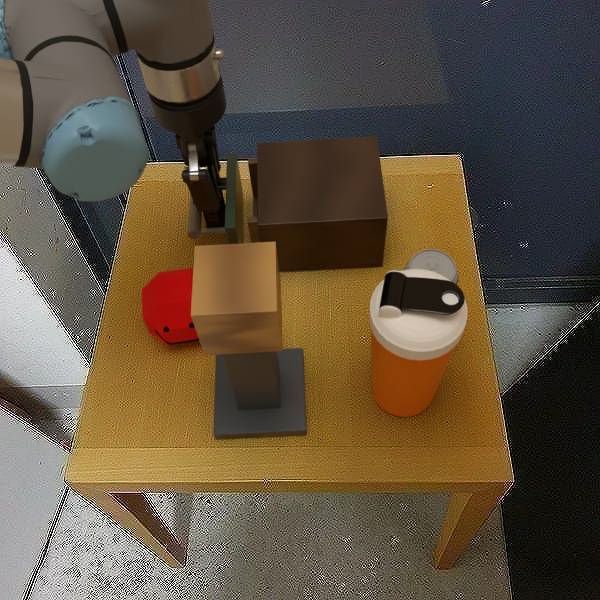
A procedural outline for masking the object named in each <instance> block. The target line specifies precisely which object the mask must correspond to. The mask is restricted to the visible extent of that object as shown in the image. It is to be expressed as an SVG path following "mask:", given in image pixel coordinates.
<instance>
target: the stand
mask: <svg viewBox="0 0 600 600" xmlns="http://www.w3.org/2000/svg"><path fill="white" fill-rule="evenodd" d="M304 359H305V358H304V348H303V347H296V348H295V347H294V348H293V347H292V348H283V351H277V352H257V353H238V354H218V355H215V372H214V373H215V374H214V400H213V401H214V403H213V437H214V439H215V440H235V439H255V438H273V437H274V438H275V437H277V438H278V437H291V436H292V437H297V436H307V408H306V388H305V387H306V386H305V383H306V382H305V364H304V363H305V362H304Z"/></svg>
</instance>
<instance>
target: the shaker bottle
mask: <svg viewBox="0 0 600 600" xmlns="http://www.w3.org/2000/svg"><path fill="white" fill-rule="evenodd" d="M465 297H466V296H465V294H464V291H463V289H461V287H460V286H459V285H458V284H457V285H456V284H455V283H454V282H451V281H450V280H449V279H447V278H446V277H444V276H443V275H440V274H438V273H436V272H433V271H429V270H425V269H408V270H404V269H402V270H398V269H396V270H395V269H394V270H389V271H387V272H386V273H385V275H384V279H382V280H381V282H380V283H379V284H378V285H377V286H376V288H375V289H374V291H373V292H372V295H371V298H370V301H369V309H368V323H369V328H370V334H371V335H370V387H371V388H370V389H371V395H372V397H373V399H374V401H375V403H376V404H377V405H378V406H379V407H380V409H382V410H383V411H384V412H386V413H387V414H390V415H391V416H396V417H399V418H400V417H402V418H410V417H413V416H417V415H419V414H421V413H424V411H425V410H427V409H428V407H429V406H430V405H431V404H432V402H433V400H434V397H435V395H436V393H437V391H438V388H439V385H440V383H441V381H442V378H443V377H444V374H445V371H446V369H447V367H448V364H449V362H450V359H451V357H452V355H453V352H454V350H455V348H456V346H457V345H458V344H459V343H460V341H461V339H462V338H463V336H464V333H465V328H466V325H467V320H468V305H467V301H466V298H465Z"/></svg>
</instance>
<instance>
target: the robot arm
mask: <svg viewBox="0 0 600 600" xmlns="http://www.w3.org/2000/svg"><path fill="white" fill-rule="evenodd" d="M209 3H210V2H209V0H0V167H13V168H14V167H15V168H25V169H26V168H28V169H43V172H44V175H45V177H47V178H48V179H49V182H50V183H51V184H52V186H53V188H55V190H57V191H58V192H59V193H61V194H63V195H66V196H69V197H71V198H73V199H74V200H75V201H80V202H88V203H89V202H95V203H96V202H101V201H106V200H111V199H113V198H116V197H118V196H120V195H122V194H124V193H125V192H127V191H129V190H130V189H131V188H132V187H133V186H135V184H136V183H137V182H138V181H139V180H140V179H141V178H142V175H143V174H144V172H145V169H146V167H147V166H148V156H149V151H148V145H147V142H146V138H145V135H144V131H143V127H142V124H141V119H140V116H139V112H138V110H137V109H136V107H135V105H134V104H133V102H132V100H131V98H130V96H129V94H128V92H127V90H126V87H125V85H124V82H123V80H122V78H121V76H120V74H119V70H118V68H117V65H116V62H115V60H114V58H113V57H116V56H119V55H123V54H126V53H129V51H132V50H135V54H136V57H137V62H138V64H139V68H140V71H141V74H142V75H141V76H142V78H143V82H144V85H145V88H146V90H147V94H148V97H149V101H150V104H151V108H152V111H153V115H154V117H155V119H156V121H157V123H158V124H159V125H160V126H161V127H163V129H165V130H167V131H169V132H171V133H173V134H175V143H176V146H177V148H178V150H180V153H181V157H182V160H183V164H184V168H183V170H182V171H181V179H182V181H183V183H184V184H186V186H187V188H188V191H189V195H190V194H191V196H192V199H193V204H195V206H196V209H197V211H198V212H202V217H203V219H204V223H205V228H220V227H225V203H226V200H225V197H224V190H222V189H218V187H219V186H226V176H225V177H221V174H220V172H221V170H222V165H221V162H220V157H219V148H218V143H217V136H216V130H215V129H216V125H217V124H218V123H219V122H220V120H221V119H222V118H223V117H224V115H225V113H226V109H227V98H226V93H225V87H224V80H223V77H222V74H221V68H220V62H219V61H221V60H224V58H225V52H224V50H223V49H222V48H216V40H215V34H214V33H215V32H214V28H213V22H212V16H211V15H212V14H211V10H210V4H209Z"/></svg>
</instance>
